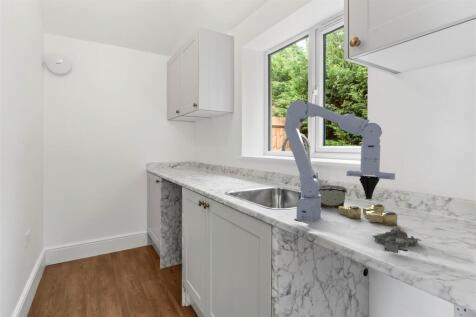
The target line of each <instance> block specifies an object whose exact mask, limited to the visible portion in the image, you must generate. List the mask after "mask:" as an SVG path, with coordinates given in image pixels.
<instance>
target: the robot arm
mask: <svg viewBox="0 0 476 317" xmlns="http://www.w3.org/2000/svg"><path fill="white" fill-rule="evenodd" d="M314 117H315V118H316V117H320V118H322V119H325V120H328V121H329V122H333V123H336V124H338V128H339V129H340V130H342V131H345V132H347V133H349V134H353V135H355V136H357V137H358V136H361V137H362V138H361V139H362V140H361V143H362V144H361V145H360V169H359V170H349V169H348V170H346V174H345V175H346V177H357V178H358V177H359V182H360V184H361V186H362V189H363V192H364V195H365V199H366V200H372V199H373V194H374V191H375V189H376V186H377V185H378V183H379V181H380V180H382V179H383V180H390V181H391V180H392V181H393V180H396V173H393V172H384V171H380V167H381V166H380V164H381V136H382V134H383V130H382V128H381V126H380V125H379V124H378V123H375V122H370V119H368V118H366V119H364V118H361V117H358V116H356V113H353V112H352V113H351V114H350V113H346V114H339V113H337V112H335V111H332V110H330V109H328V108H326V107H323V106H321V105H318V104H316V103H312V102H308V101H303V100H301V99H295V100H293V101H291V103H290V104H289V106H288V107H287V109H286V118H285V122H284V132H285V134H286V138H287V140H288V144H289V146H290V149H291V153H292V155H293V159H294V161H295V163H296V166H297V169H298V173H299V180H300V181H299V182H300V186H299V188H300V189H299V190H300V191H301V193H300V198H299V199H298V200H297V203H296V218H294V219H293V221H297V222H301V223H303V221H302V220H305V221H309V222H313V221H315V220H319V219H322V218H321V216H322V215H321V213H322V207H321V194H320V193H319V190H320V188H321V186H322V181H321V180H320V179H319V177H318V176H317V174H316V172H315V170H314V169H313V166H312V164H311V161H310V158H309V155H308V153H307V152H308V151H307V149H306V147H305V144H304V141H303V138H302V136H301V133H300V130H299V129H300V128H301V126H302V124H303V123H304V122H305V120H307V119H308V118H314ZM299 219H300V220H299Z"/></svg>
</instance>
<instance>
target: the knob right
mask: <svg viewBox="0 0 476 317" xmlns="http://www.w3.org/2000/svg"><path fill="white" fill-rule="evenodd" d="M398 217H399V216H398V214H397V213H396V212H394V211H388V210H386V211H385V210H384V212H383V213H382V214H373V213H369V220H368V222H372V223H381V224H382V225H384V226H389V227H397V226H398Z"/></svg>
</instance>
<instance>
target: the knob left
mask: <svg viewBox="0 0 476 317" xmlns="http://www.w3.org/2000/svg"><path fill="white" fill-rule="evenodd" d="M337 213H338V214H341V215H345V216H347V218H349V219H351V220H361V219H362V208H361V207H359V206H356V205H349V206H347V207H346V206H344V207H343V206H340V207H338V209H337Z"/></svg>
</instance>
